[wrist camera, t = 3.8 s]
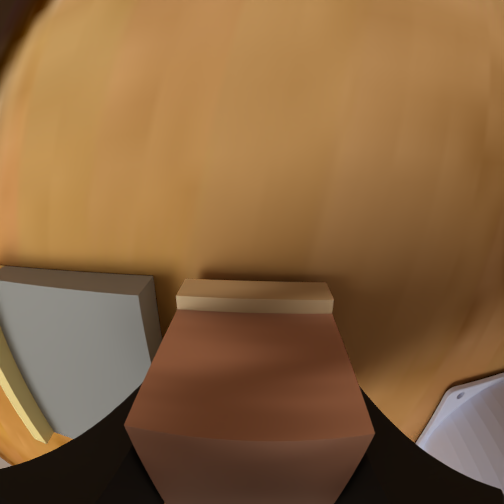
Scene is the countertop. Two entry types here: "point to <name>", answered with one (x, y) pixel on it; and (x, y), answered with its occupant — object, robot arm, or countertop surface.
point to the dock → (73, 344)
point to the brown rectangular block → (250, 398)
